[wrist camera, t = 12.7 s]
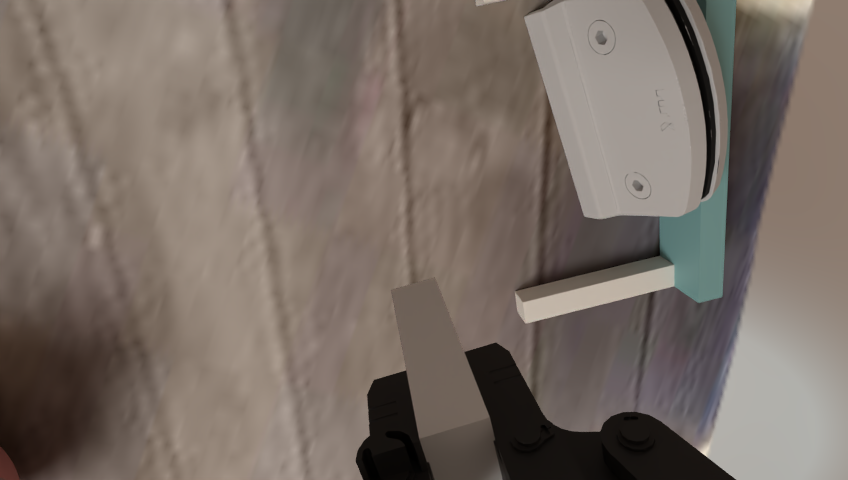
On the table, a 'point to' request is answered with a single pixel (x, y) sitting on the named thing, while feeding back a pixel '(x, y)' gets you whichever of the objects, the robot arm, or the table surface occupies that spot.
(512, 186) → the table surface
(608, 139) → the grey half-round casing
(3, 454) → the balloon
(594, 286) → the guide bay
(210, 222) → the table surface
